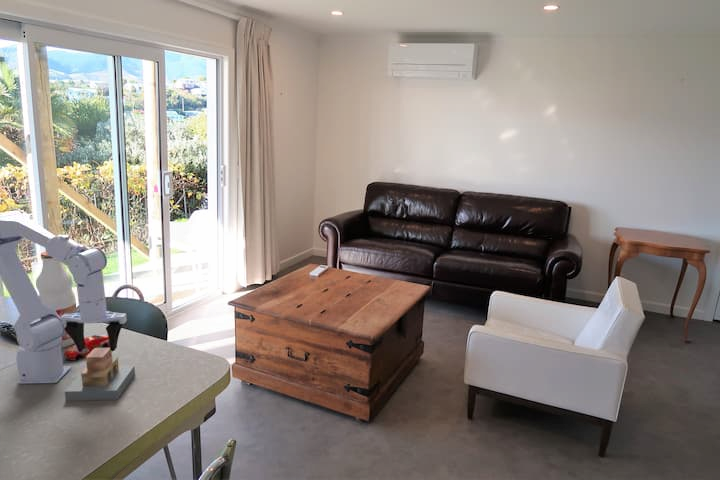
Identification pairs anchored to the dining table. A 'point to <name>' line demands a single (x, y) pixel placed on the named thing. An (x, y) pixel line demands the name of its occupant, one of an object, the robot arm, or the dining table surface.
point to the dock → (101, 387)
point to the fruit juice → (56, 291)
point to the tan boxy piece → (100, 374)
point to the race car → (87, 347)
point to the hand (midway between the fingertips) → (97, 349)
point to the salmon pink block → (98, 359)
